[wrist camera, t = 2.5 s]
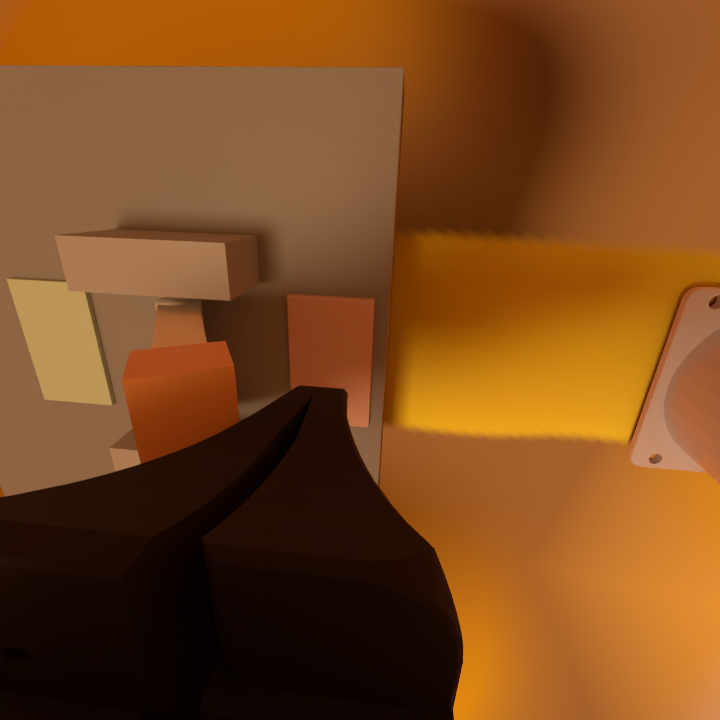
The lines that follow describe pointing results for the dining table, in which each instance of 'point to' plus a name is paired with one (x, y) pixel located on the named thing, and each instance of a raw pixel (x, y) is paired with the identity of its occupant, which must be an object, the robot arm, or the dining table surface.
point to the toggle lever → (179, 383)
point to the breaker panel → (198, 182)
